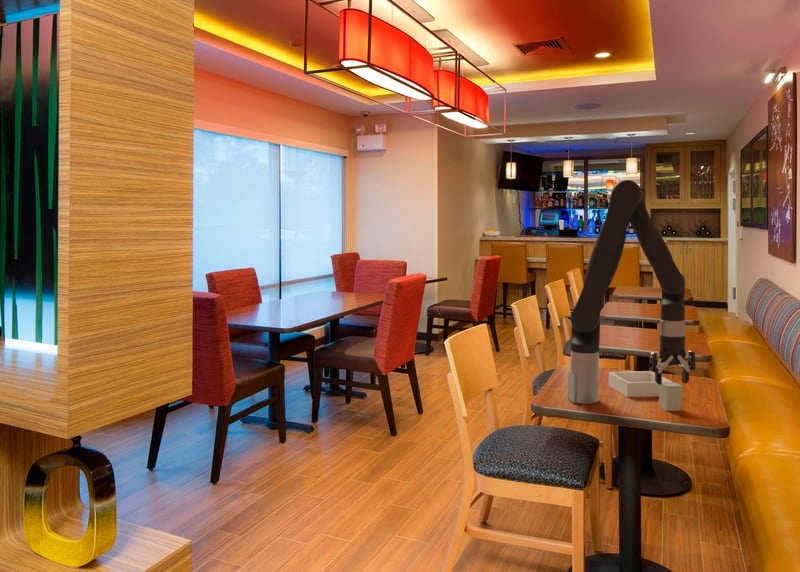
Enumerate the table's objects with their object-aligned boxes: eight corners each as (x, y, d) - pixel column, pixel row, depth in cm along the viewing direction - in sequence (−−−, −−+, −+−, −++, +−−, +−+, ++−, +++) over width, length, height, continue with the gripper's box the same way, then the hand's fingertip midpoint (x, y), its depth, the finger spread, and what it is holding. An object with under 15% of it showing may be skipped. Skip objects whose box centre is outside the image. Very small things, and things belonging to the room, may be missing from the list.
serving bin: (627, 397, 212) (627, 382, 211) (608, 385, 228) (608, 372, 227) (672, 395, 213) (672, 381, 212) (650, 384, 229) (650, 371, 228)
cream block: (666, 411, 196) (667, 386, 195) (658, 406, 201) (659, 382, 200) (681, 410, 196) (682, 386, 195) (673, 406, 201) (674, 382, 200)
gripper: (656, 336, 192) (656, 387, 193) (700, 334, 193) (699, 385, 194) (645, 332, 199) (645, 381, 201) (687, 331, 200) (687, 379, 202)
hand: (671, 383), depth 197 cm, fingers open, 8 cm apart
